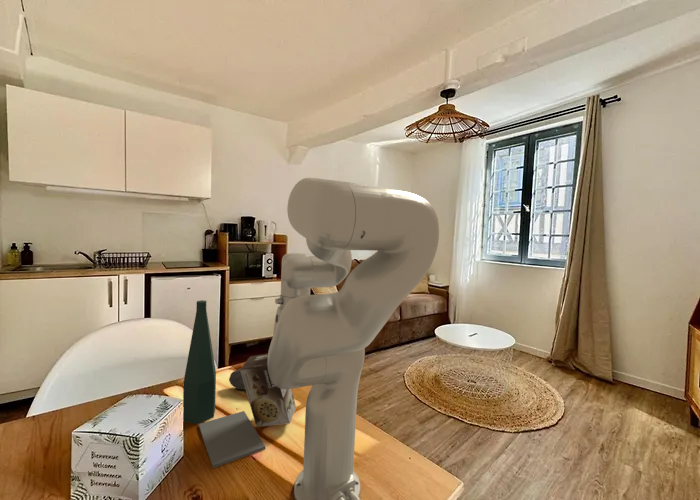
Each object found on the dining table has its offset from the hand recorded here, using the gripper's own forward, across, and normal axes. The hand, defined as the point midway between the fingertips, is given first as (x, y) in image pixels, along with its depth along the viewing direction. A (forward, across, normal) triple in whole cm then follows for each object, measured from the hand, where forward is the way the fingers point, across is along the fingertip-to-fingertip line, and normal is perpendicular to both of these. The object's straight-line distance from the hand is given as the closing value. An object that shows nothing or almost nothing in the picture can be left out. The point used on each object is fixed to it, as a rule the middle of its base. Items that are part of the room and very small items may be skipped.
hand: (292, 370), depth 82 cm
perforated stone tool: (+13, -4, +18) cm, 23 cm away
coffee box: (+11, -4, -1) cm, 12 cm away
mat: (+12, -16, -1) cm, 20 cm away
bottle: (+13, -20, +12) cm, 27 cm away
